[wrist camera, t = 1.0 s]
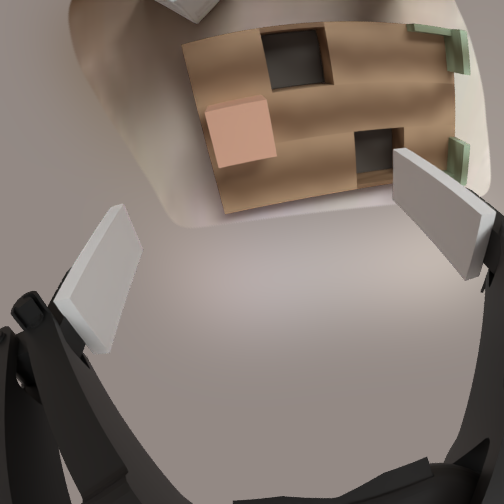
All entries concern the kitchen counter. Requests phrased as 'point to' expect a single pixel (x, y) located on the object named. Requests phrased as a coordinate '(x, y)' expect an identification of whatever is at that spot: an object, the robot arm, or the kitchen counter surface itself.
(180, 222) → the kitchen counter surface
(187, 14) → the supplement box
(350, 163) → the tray
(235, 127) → the block
